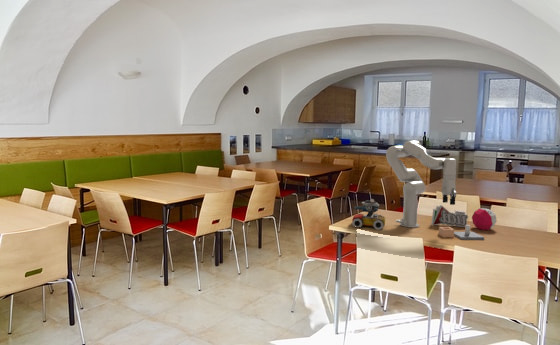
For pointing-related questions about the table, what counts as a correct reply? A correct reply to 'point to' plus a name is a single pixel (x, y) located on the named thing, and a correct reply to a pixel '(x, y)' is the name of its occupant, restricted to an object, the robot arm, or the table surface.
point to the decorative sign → (448, 217)
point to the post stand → (468, 234)
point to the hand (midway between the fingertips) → (448, 203)
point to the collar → (446, 232)
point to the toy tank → (369, 216)
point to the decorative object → (484, 219)
